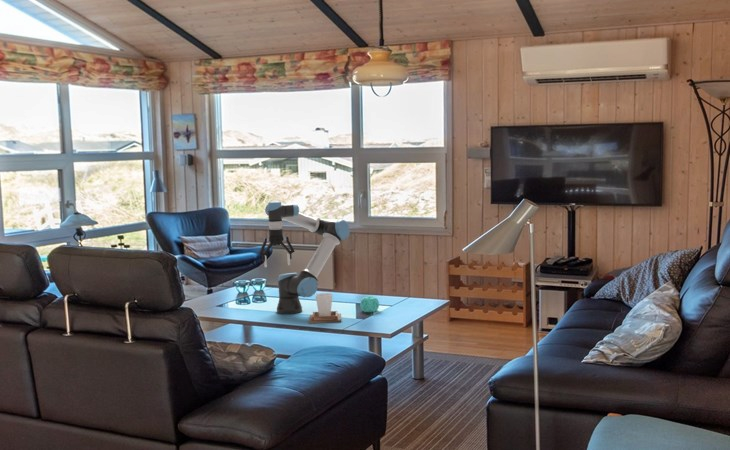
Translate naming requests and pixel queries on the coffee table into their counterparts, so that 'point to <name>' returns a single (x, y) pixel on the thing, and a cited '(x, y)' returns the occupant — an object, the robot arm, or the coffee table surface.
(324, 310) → the foam cup
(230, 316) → the coffee table surface
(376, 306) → the green textured ball
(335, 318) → the dock board
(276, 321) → the coffee table surface
